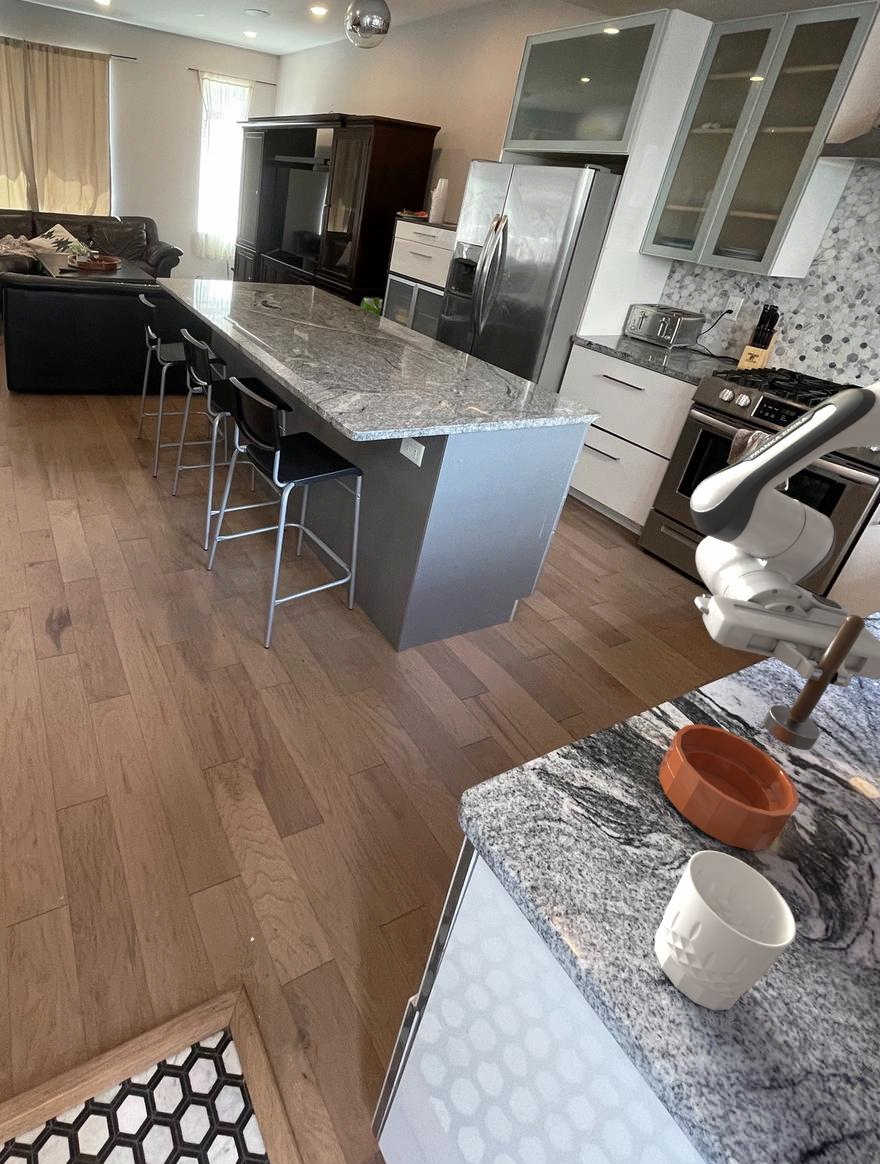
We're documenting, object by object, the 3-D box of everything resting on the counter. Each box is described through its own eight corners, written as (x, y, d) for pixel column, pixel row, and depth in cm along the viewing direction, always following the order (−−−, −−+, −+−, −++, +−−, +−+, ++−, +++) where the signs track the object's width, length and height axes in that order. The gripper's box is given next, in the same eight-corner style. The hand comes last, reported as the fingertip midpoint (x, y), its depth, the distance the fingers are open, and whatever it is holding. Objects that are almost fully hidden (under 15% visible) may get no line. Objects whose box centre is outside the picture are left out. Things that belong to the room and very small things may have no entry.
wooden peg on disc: (797, 722, 80) (868, 608, 73) (821, 754, 75) (899, 635, 68) (755, 712, 80) (820, 598, 73) (776, 744, 76) (848, 625, 69)
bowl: (743, 773, 79) (763, 738, 76) (797, 866, 67) (823, 828, 65) (643, 750, 80) (660, 714, 78) (679, 837, 69) (701, 798, 66)
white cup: (649, 903, 61) (688, 833, 57) (741, 955, 58) (790, 885, 54) (644, 979, 55) (688, 906, 51) (747, 1043, 51) (803, 970, 48)
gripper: (698, 574, 86) (747, 636, 73) (857, 607, 84) (935, 677, 71) (680, 611, 88) (724, 678, 75) (834, 645, 86) (906, 719, 73)
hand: (828, 678), depth 73 cm, fingers closed on wooden peg on disc
